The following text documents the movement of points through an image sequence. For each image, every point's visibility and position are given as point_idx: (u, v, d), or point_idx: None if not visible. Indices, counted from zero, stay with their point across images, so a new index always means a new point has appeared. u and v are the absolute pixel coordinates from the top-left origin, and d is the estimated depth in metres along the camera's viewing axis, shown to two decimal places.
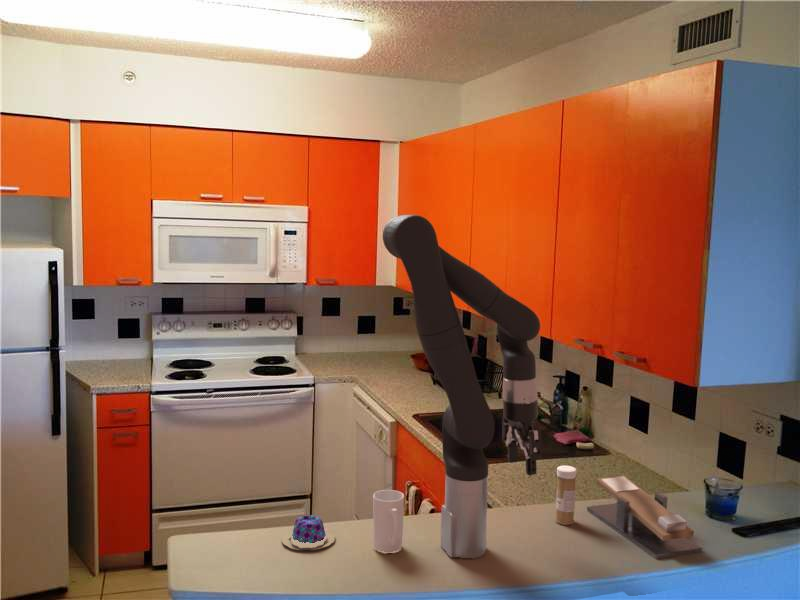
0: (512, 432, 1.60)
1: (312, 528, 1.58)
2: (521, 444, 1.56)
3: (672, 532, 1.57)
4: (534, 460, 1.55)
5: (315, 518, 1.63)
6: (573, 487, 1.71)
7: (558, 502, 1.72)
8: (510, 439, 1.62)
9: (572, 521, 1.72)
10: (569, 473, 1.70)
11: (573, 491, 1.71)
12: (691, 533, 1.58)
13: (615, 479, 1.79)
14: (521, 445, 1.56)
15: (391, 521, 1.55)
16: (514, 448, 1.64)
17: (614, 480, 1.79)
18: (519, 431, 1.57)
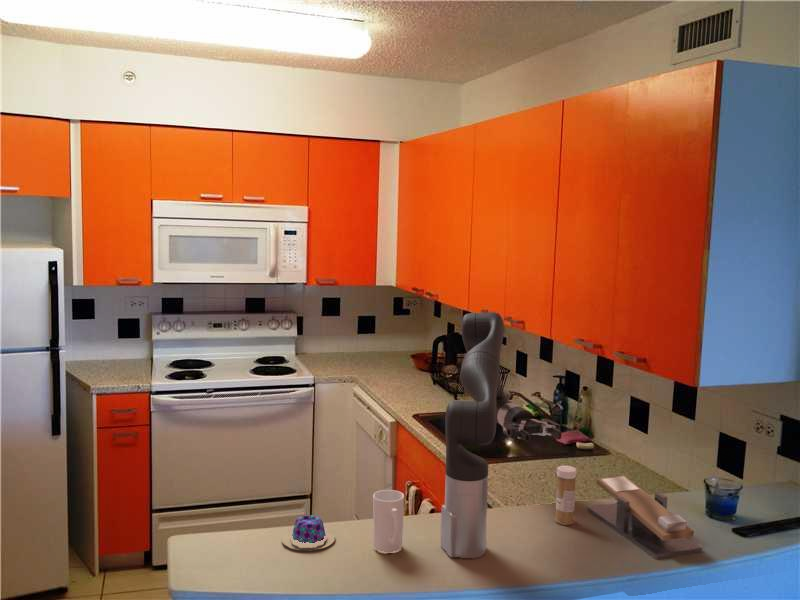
0: (525, 422, 1.89)
1: (313, 528, 1.58)
2: (543, 422, 1.89)
3: (672, 532, 1.57)
4: None
5: (315, 518, 1.63)
6: (573, 487, 1.71)
7: (558, 502, 1.72)
8: (524, 426, 1.87)
9: (572, 521, 1.72)
10: (569, 473, 1.70)
11: (573, 491, 1.71)
12: (691, 533, 1.58)
13: (615, 479, 1.79)
14: (543, 422, 1.89)
15: (391, 521, 1.55)
16: None
17: (614, 480, 1.79)
18: None
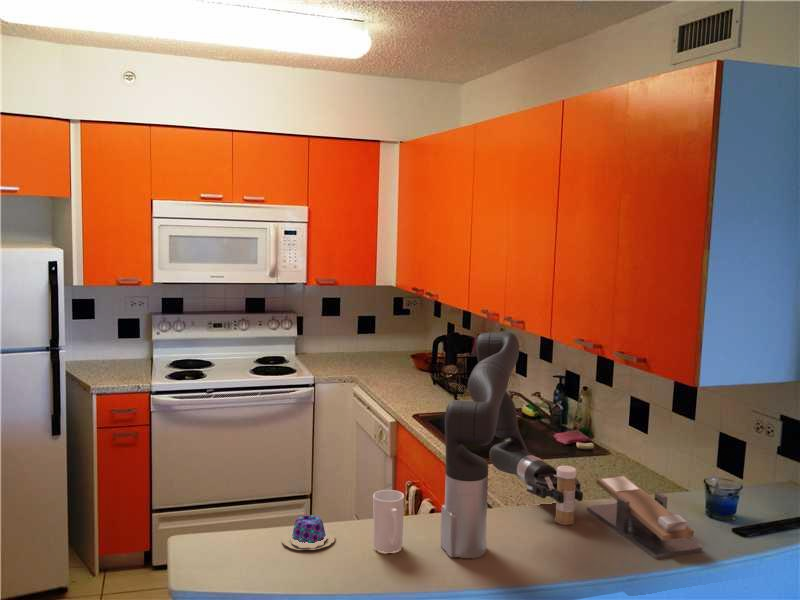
0: None
1: (312, 528, 1.58)
2: None
3: (672, 532, 1.57)
4: None
5: (315, 518, 1.62)
6: (573, 487, 1.71)
7: (558, 502, 1.72)
8: None
9: (572, 521, 1.72)
10: (569, 473, 1.70)
11: (573, 491, 1.71)
12: (691, 533, 1.58)
13: (615, 479, 1.79)
14: None
15: (391, 521, 1.55)
16: None
17: (614, 480, 1.79)
18: None
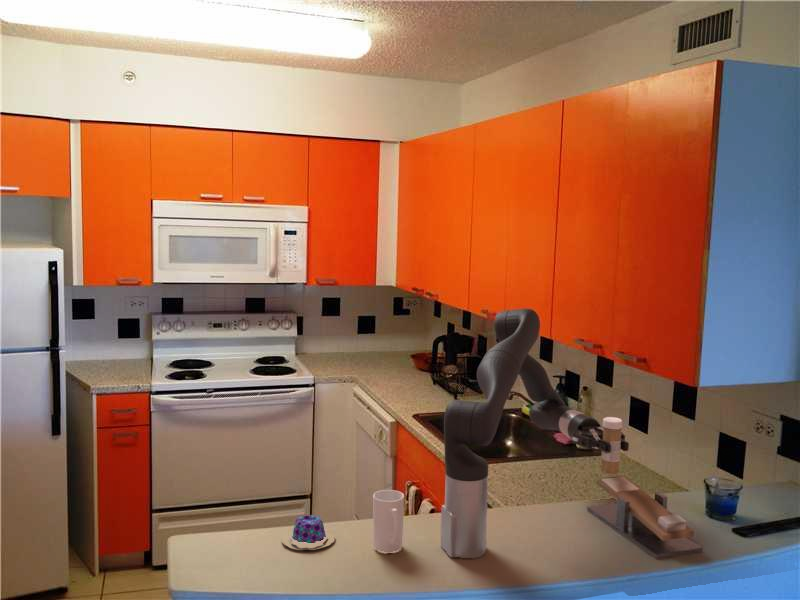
0: None
1: (311, 528, 1.58)
2: None
3: (672, 532, 1.57)
4: None
5: (316, 518, 1.62)
6: (619, 437, 1.74)
7: (604, 452, 1.75)
8: None
9: (618, 471, 1.76)
10: (616, 424, 1.73)
11: (619, 441, 1.74)
12: (691, 533, 1.58)
13: (615, 479, 1.79)
14: None
15: (391, 521, 1.55)
16: None
17: (614, 480, 1.79)
18: None
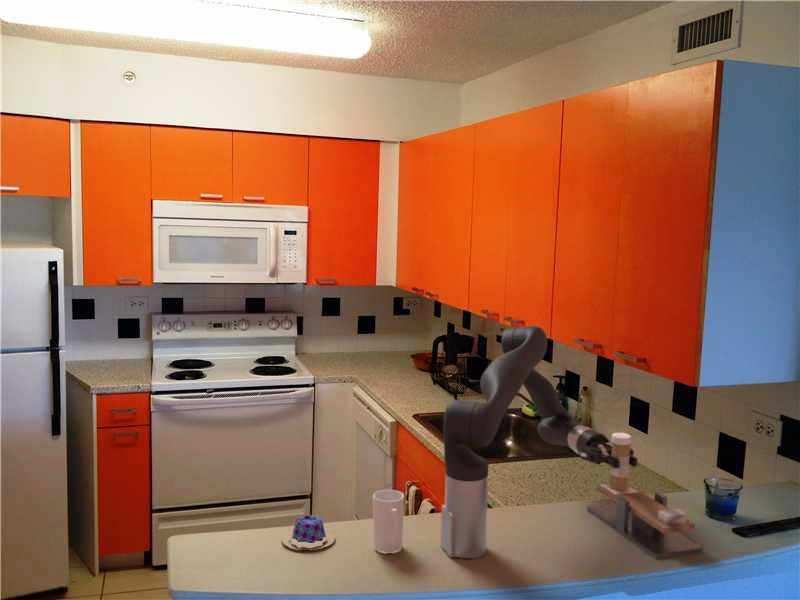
0: None
1: (310, 528, 1.58)
2: None
3: (673, 525, 1.57)
4: None
5: (316, 518, 1.62)
6: (628, 453, 1.75)
7: (613, 468, 1.76)
8: None
9: (626, 486, 1.76)
10: (625, 439, 1.74)
11: (628, 457, 1.75)
12: (692, 526, 1.58)
13: None
14: None
15: (391, 521, 1.55)
16: None
17: None
18: None
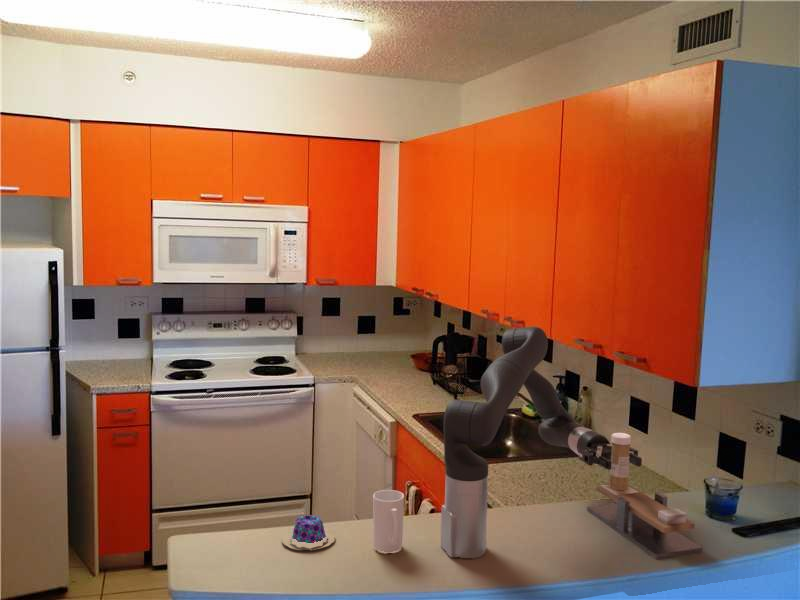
0: (602, 448, 1.82)
1: (310, 528, 1.58)
2: None
3: (673, 525, 1.57)
4: None
5: (316, 518, 1.62)
6: (627, 453, 1.75)
7: (613, 468, 1.76)
8: (601, 452, 1.79)
9: (626, 486, 1.76)
10: (624, 439, 1.74)
11: (627, 457, 1.75)
12: (692, 525, 1.58)
13: None
14: None
15: (391, 521, 1.55)
16: None
17: None
18: None
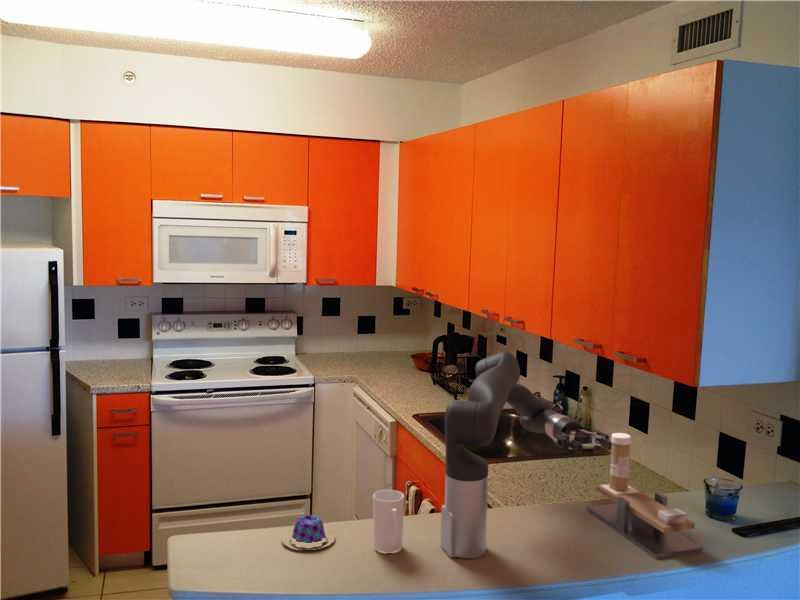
0: (575, 433, 1.94)
1: (309, 528, 1.58)
2: (593, 433, 1.94)
3: (673, 525, 1.57)
4: None
5: (316, 519, 1.62)
6: (628, 453, 1.75)
7: (613, 468, 1.76)
8: (574, 437, 1.92)
9: (626, 487, 1.76)
10: (625, 439, 1.74)
11: (628, 457, 1.75)
12: (692, 525, 1.58)
13: None
14: (593, 433, 1.94)
15: (391, 521, 1.55)
16: None
17: None
18: None
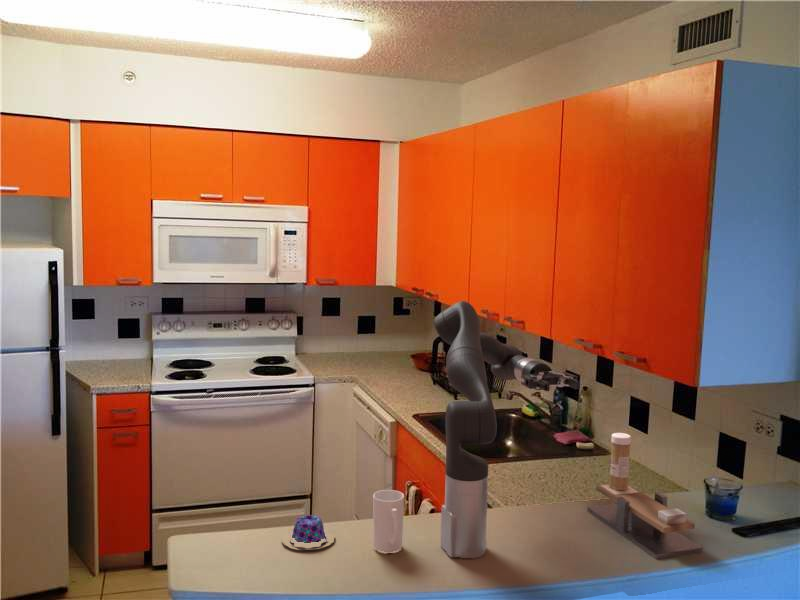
0: (543, 374, 1.92)
1: (307, 528, 1.58)
2: None
3: (673, 525, 1.57)
4: None
5: (316, 519, 1.62)
6: (628, 453, 1.75)
7: (613, 468, 1.76)
8: (542, 377, 1.89)
9: (626, 486, 1.76)
10: (625, 439, 1.74)
11: (628, 457, 1.75)
12: (692, 525, 1.58)
13: None
14: (561, 374, 1.91)
15: (391, 521, 1.55)
16: None
17: None
18: None
